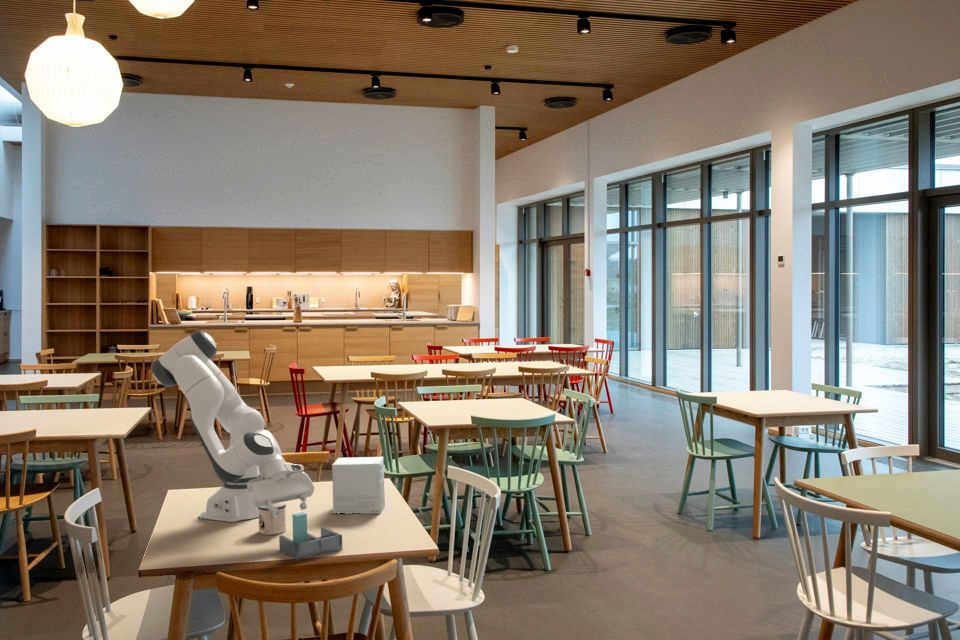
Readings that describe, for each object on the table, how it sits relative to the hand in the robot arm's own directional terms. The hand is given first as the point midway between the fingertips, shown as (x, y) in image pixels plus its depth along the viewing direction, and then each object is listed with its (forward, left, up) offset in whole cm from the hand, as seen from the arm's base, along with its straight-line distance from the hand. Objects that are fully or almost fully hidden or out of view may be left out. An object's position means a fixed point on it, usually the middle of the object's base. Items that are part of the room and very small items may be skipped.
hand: (290, 511), depth 254 cm
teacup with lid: (-12, +11, -11) cm, 20 cm away
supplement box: (+6, +43, -11) cm, 45 cm away
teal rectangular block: (+6, -6, -9) cm, 12 cm away
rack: (+8, -4, -11) cm, 14 cm away
